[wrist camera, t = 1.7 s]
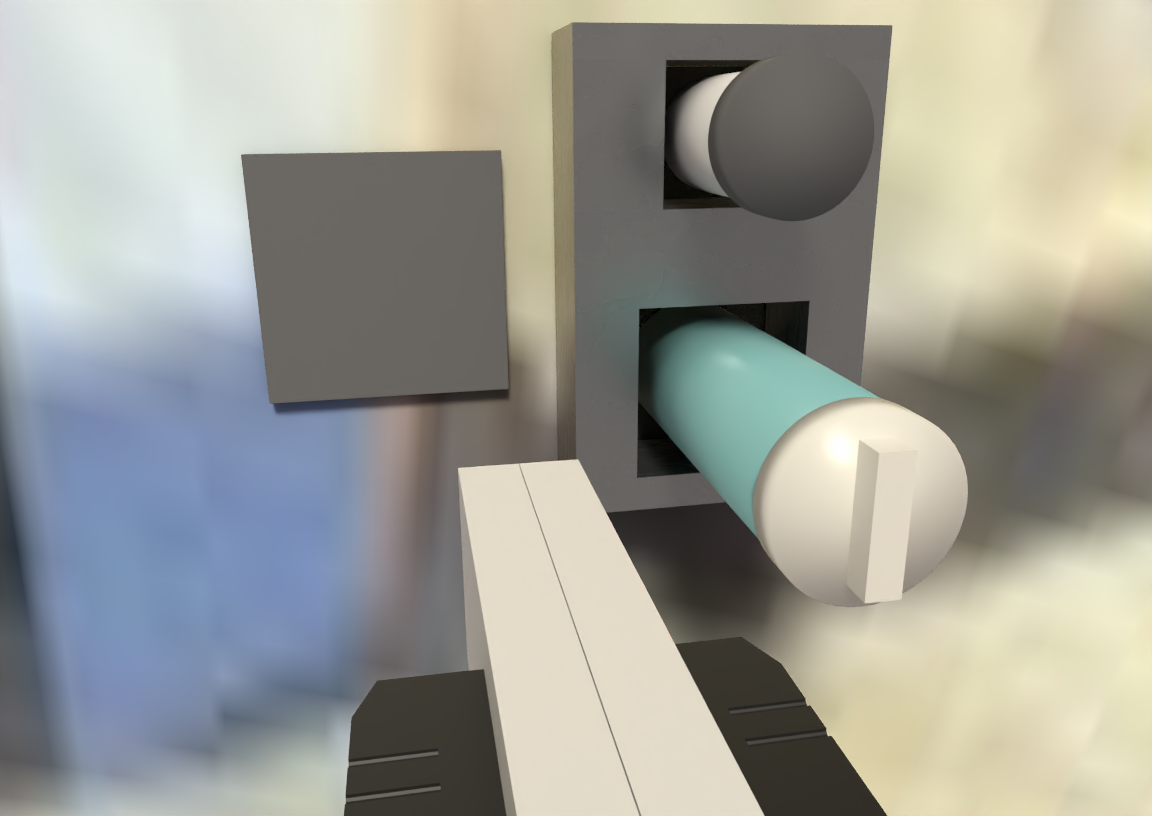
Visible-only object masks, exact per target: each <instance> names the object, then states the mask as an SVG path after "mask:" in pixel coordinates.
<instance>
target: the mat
mask: <svg viewBox="0 0 1152 816" xmlns="http://www.w3.org/2000/svg"><path fill="white" fill-rule="evenodd" d="M241 158H242V166H243V175H244V184H245V192H246V201H247V210H248V219H249V227H250V236H251V245H252V253H253V262H254V271H255V280H256V288H257V297H258V306H259V314H260V323H261V332H262V340H263V349H264V358H265V367H266V375H267V384H268V393H269V401H270V403H286V402H303V401H319V400H335V399H351V398H368V397H384V396H400V395H416V394H433V393H449V392H465V391H481V390H498V389H509V388H508V357H507V326H506V295H505V264H504V233H503V201H502V170H501V151H500V150H495V151H430V152H365V153H300V154H242V155H241Z"/></svg>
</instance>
